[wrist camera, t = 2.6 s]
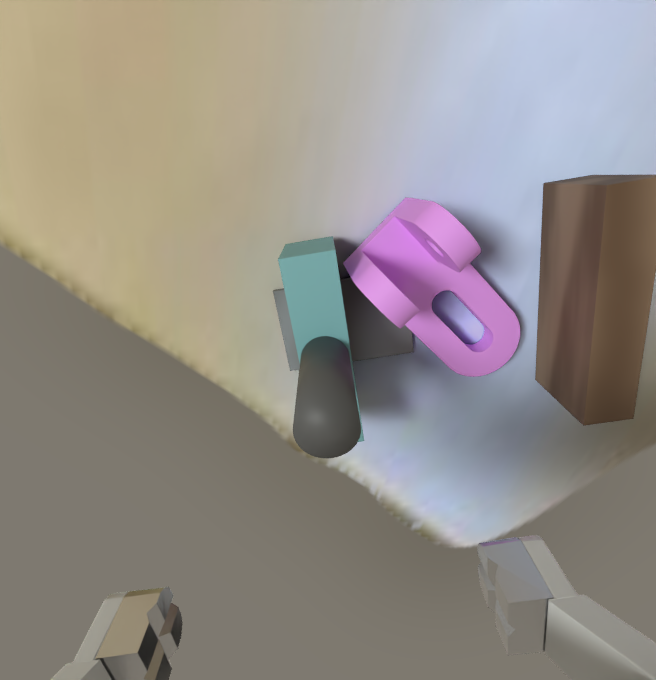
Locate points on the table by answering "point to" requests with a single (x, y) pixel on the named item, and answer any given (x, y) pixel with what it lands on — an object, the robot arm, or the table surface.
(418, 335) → the bracket
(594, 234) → the base
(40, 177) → the table surface
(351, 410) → the clamp jaw
